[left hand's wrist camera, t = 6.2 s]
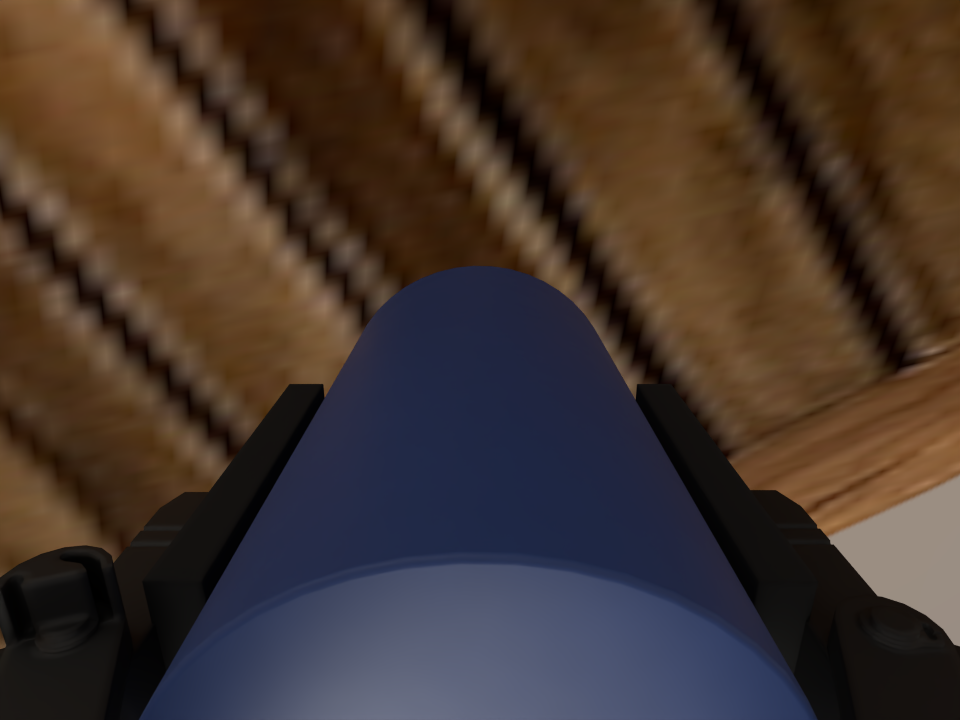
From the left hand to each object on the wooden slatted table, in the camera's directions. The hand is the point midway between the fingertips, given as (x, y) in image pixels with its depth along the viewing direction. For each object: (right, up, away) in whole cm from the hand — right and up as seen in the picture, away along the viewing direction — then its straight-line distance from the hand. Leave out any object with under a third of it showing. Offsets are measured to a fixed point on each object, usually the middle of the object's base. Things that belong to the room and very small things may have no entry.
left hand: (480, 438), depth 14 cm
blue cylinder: (0, +1, +2) cm, 3 cm away
